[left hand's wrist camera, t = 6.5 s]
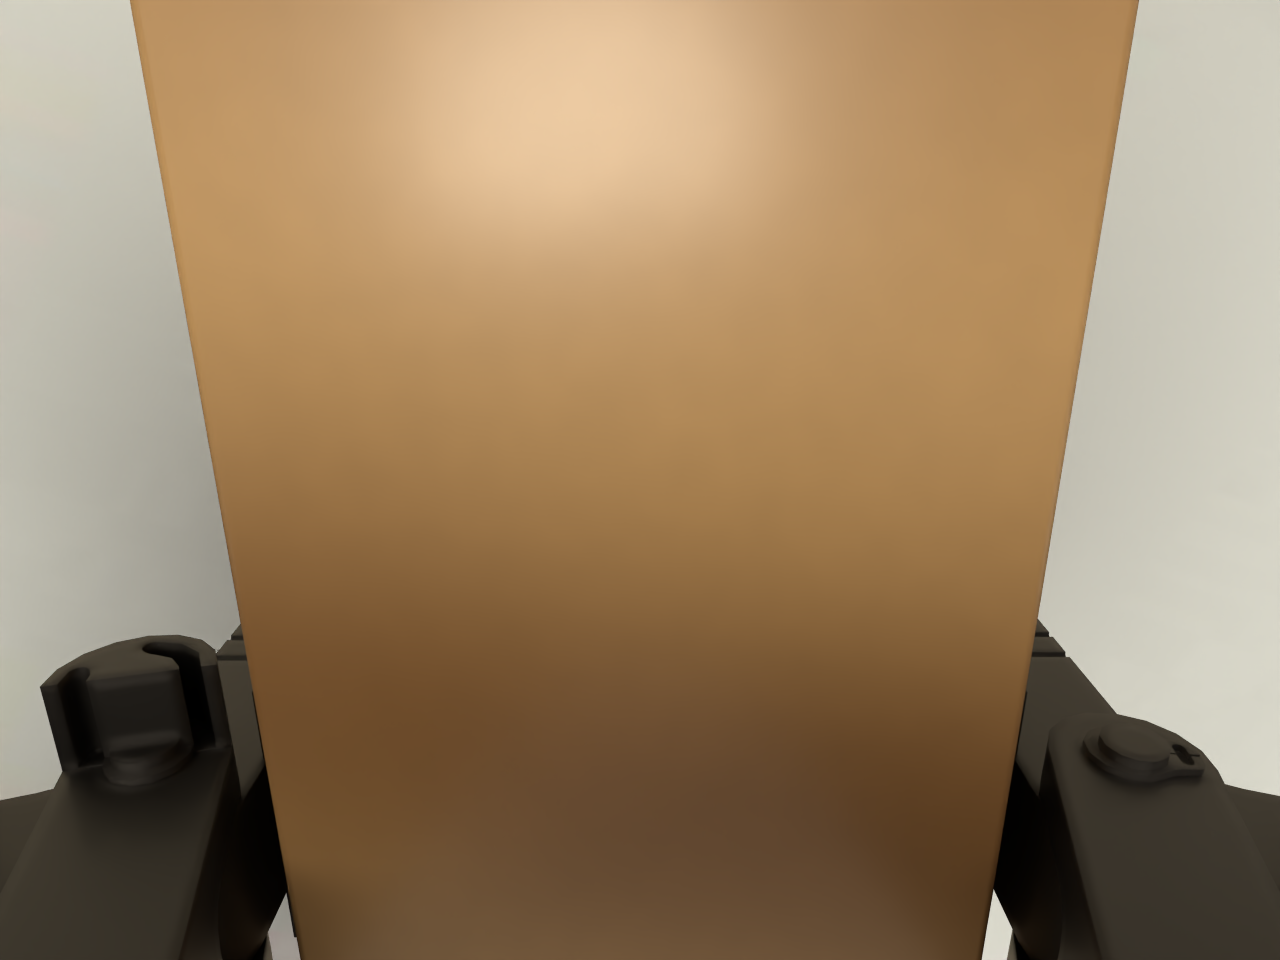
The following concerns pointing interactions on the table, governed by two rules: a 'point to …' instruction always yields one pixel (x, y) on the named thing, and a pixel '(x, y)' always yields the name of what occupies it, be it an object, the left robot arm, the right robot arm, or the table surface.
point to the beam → (637, 448)
